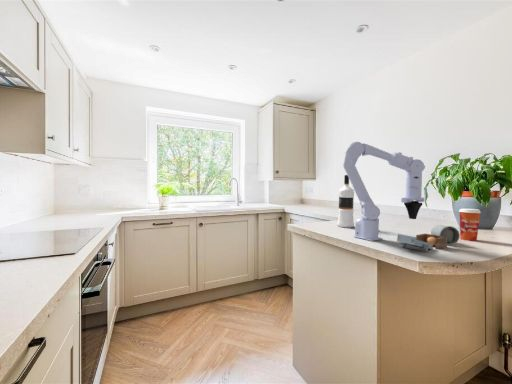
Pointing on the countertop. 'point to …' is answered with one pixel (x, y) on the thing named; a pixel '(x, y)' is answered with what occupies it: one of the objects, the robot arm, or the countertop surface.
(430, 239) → the ball
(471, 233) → the paper cup
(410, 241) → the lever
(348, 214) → the vodka
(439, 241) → the pocket
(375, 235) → the robot arm
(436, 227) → the ceramic mug
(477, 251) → the countertop surface
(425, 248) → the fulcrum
